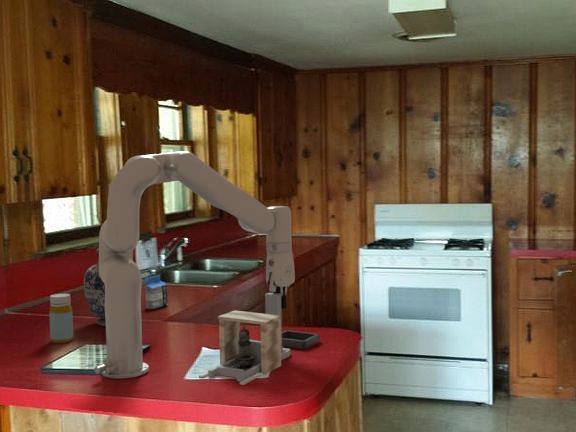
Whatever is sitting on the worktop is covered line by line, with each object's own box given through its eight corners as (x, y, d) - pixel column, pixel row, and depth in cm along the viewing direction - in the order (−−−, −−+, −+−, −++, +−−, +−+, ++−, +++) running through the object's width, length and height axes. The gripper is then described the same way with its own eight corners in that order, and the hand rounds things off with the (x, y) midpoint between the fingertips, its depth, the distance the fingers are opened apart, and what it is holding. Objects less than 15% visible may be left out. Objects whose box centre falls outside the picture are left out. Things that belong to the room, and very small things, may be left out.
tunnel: (266, 374, 184) (265, 322, 183) (219, 366, 191) (217, 316, 190) (282, 365, 191) (281, 315, 190) (235, 358, 199) (234, 310, 198)
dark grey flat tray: (304, 349, 207) (304, 341, 206) (270, 345, 212) (270, 337, 212) (319, 341, 215) (319, 334, 215) (286, 337, 221) (286, 330, 221)
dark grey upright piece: (244, 364, 193) (243, 322, 192) (260, 368, 189) (259, 325, 188) (229, 369, 188) (228, 326, 187) (245, 373, 185) (244, 329, 184)
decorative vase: (76, 320, 250) (74, 244, 247) (124, 314, 260) (123, 241, 258) (96, 332, 232) (94, 250, 230) (147, 325, 243) (146, 246, 241)
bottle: (67, 336, 227) (65, 292, 226) (77, 340, 222) (75, 295, 221) (47, 341, 222) (44, 295, 221) (56, 344, 217) (54, 298, 216)
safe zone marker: (243, 384, 175) (243, 383, 175) (198, 377, 182) (198, 375, 182) (262, 375, 183) (261, 373, 183) (218, 367, 190) (218, 366, 190)
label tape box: (153, 309, 267) (152, 278, 266) (145, 308, 269) (144, 277, 268) (168, 305, 275) (167, 275, 274) (160, 304, 277) (159, 274, 276)
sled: (240, 381, 177) (239, 313, 176) (208, 376, 183) (206, 309, 181) (292, 354, 201) (291, 294, 200) (262, 350, 207) (260, 291, 205)
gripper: (277, 251, 195) (279, 314, 197) (301, 245, 208) (303, 304, 210) (255, 250, 199) (256, 312, 201) (280, 244, 212) (281, 302, 214)
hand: (280, 308), depth 205 cm, fingers closed
